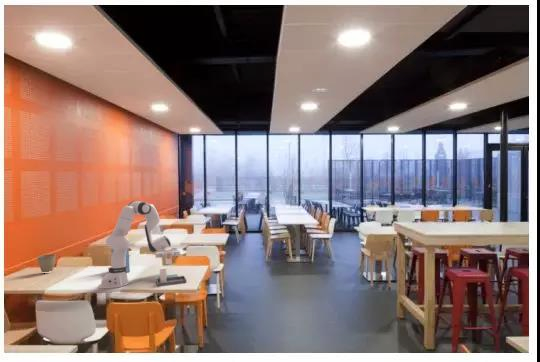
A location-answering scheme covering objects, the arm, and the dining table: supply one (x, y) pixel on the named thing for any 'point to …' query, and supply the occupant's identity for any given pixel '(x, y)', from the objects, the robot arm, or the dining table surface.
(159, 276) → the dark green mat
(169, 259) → the labelled box
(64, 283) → the dining table surface
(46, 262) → the plant pot
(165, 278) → the plain box
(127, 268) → the gum box
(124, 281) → the robot arm
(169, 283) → the charcoal tray
